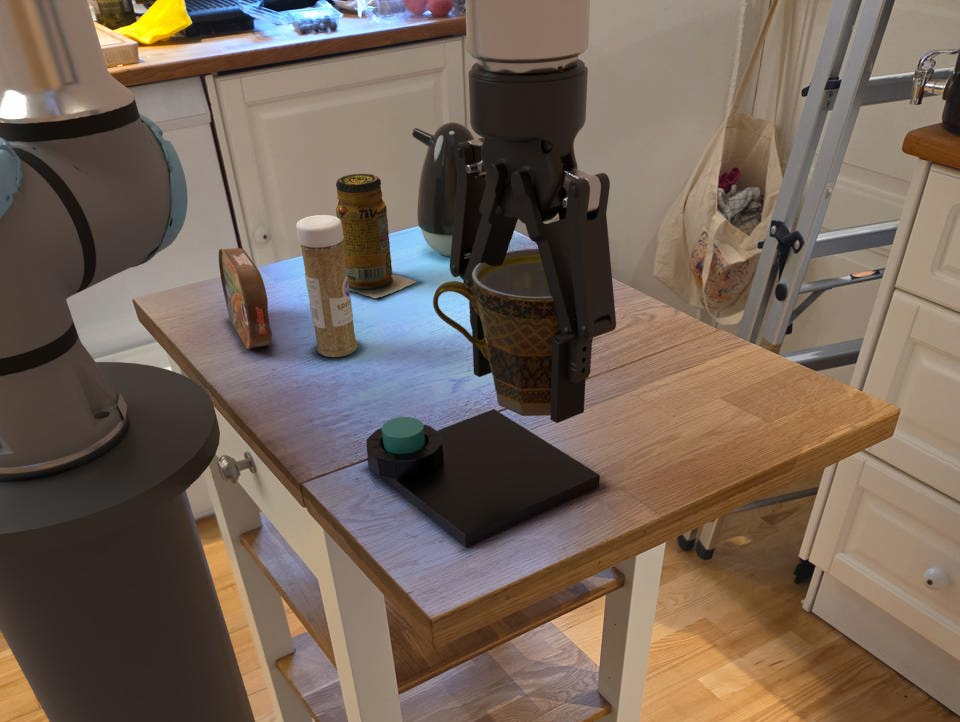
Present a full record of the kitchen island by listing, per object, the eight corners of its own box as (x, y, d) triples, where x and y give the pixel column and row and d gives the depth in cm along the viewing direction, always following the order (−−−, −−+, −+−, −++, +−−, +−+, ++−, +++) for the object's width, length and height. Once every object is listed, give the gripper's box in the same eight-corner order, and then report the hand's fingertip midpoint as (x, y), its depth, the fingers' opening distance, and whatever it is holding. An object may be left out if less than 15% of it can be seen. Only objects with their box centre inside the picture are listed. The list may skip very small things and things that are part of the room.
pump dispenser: (433, 235, 123) (425, 111, 113) (504, 240, 121) (503, 114, 111) (407, 260, 116) (396, 130, 106) (482, 266, 114) (478, 134, 103)
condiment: (371, 268, 115) (359, 167, 106) (417, 283, 110) (409, 178, 102) (329, 285, 111) (314, 181, 102) (375, 301, 106) (363, 194, 98)
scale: (356, 468, 78) (352, 438, 76) (489, 417, 84) (488, 388, 82) (458, 551, 69) (456, 519, 67) (599, 487, 75) (601, 456, 73)
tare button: (376, 443, 76) (373, 425, 75) (410, 430, 78) (409, 412, 77) (398, 460, 74) (396, 441, 73) (433, 446, 76) (432, 428, 74)
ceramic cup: (594, 368, 75) (601, 246, 68) (605, 427, 67) (615, 296, 60) (441, 371, 75) (434, 250, 68) (436, 430, 68) (427, 301, 61)
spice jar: (358, 356, 95) (341, 226, 86) (316, 360, 95) (294, 229, 86) (357, 339, 98) (340, 211, 89) (316, 342, 98) (295, 214, 89)
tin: (226, 312, 105) (209, 239, 99) (251, 307, 106) (236, 234, 100) (253, 362, 95) (236, 283, 89) (281, 356, 96) (266, 278, 90)
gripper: (700, 75, 50) (658, 430, 65) (473, 32, 63) (483, 335, 78) (601, 96, 47) (581, 464, 62) (385, 46, 60) (412, 359, 75)
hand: (526, 392), depth 70 cm, fingers closed on ceramic cup, 9 cm apart
